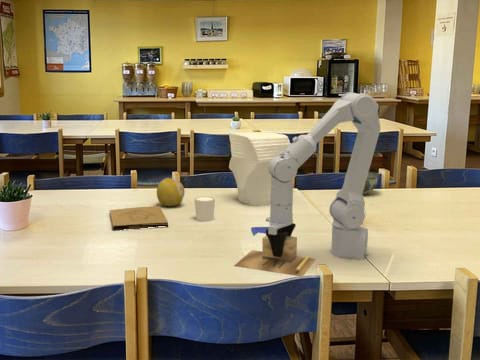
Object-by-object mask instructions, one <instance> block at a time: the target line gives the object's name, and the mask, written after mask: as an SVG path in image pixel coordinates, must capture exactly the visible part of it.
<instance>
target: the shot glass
mask: <svg viewBox="0 0 480 360" xmlns="http://www.w3.org/2000/svg"><path fill="white" fill-rule="evenodd" d="M215 203H216V199H215V197H211V196H198V197H195V198H194V205H195V206H194V208H195V217H196V218H197V219H196V218H195V219H196V220H197V221H199V220H200V221H199V222H209V221H210V222H211V221H213V220H214V216H215V215H214V214H215Z"/></svg>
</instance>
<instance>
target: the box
mask: <svg viewBox="0 0 480 360" xmlns="http://www.w3.org/2000/svg"><path fill="white" fill-rule="evenodd" d="M109 215H110V223H111V229H112V231H113V232H117V231H120V230H121V231H125V230H124V229H134V230H141V229H140V228H148V227H155V228H159V227H158V226H167V227H166V228H169V221H168V220H167V217H166V216H165V214H164V212H163V210H162V208H161V206H160V205H157V206H156V205H154V206H153V205H151V206H150V205H149V206H139V207H137V206H136V207H127V208H126V207H124V208H118V209H110V210H109ZM156 226H157V227H156Z"/></svg>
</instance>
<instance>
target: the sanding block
mask: <svg viewBox="0 0 480 360" xmlns="http://www.w3.org/2000/svg"><path fill="white" fill-rule="evenodd" d="M297 245H298V237H297V236H292V235H291V236H286V239H285V242H284V247H283V253H282V256H281V257H275V256H273V253H272V248H271V244H270V241H269V239H268V237H267V235H266V234H265V236H264V237H262V245H261V246H262V258H264V259H271V260H278V261H285V262H292V261H293V260H294V259H295V258H296V256H297V253H298V252H297V248H298V246H297Z"/></svg>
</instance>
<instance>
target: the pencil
mask: <svg viewBox="0 0 480 360" xmlns="http://www.w3.org/2000/svg"><path fill="white" fill-rule="evenodd" d="M310 258H311V256H310V255H307V256H305V259H304V260H303V261H302V263H301V264H300V265H299V266H298V267H297V269H296V270H295V273H298V272H299V271H300V270H301V269H302V268H303V266H304V265H305V264H306V263H307V261H308V260H309V259H310Z"/></svg>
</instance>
